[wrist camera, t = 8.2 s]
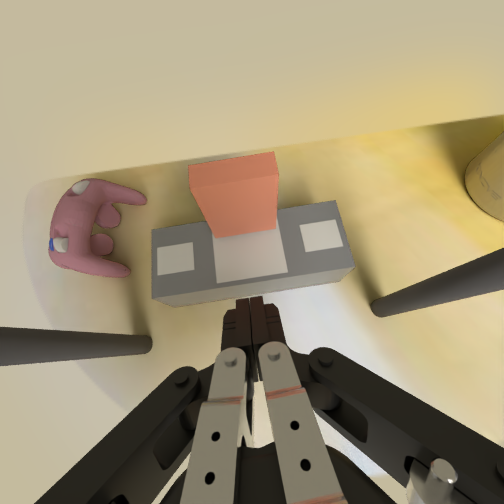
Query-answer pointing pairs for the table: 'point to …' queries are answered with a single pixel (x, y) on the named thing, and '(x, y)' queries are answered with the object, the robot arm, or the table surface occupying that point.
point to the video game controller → (89, 226)
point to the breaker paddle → (237, 193)
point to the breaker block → (250, 257)
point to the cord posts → (110, 345)
